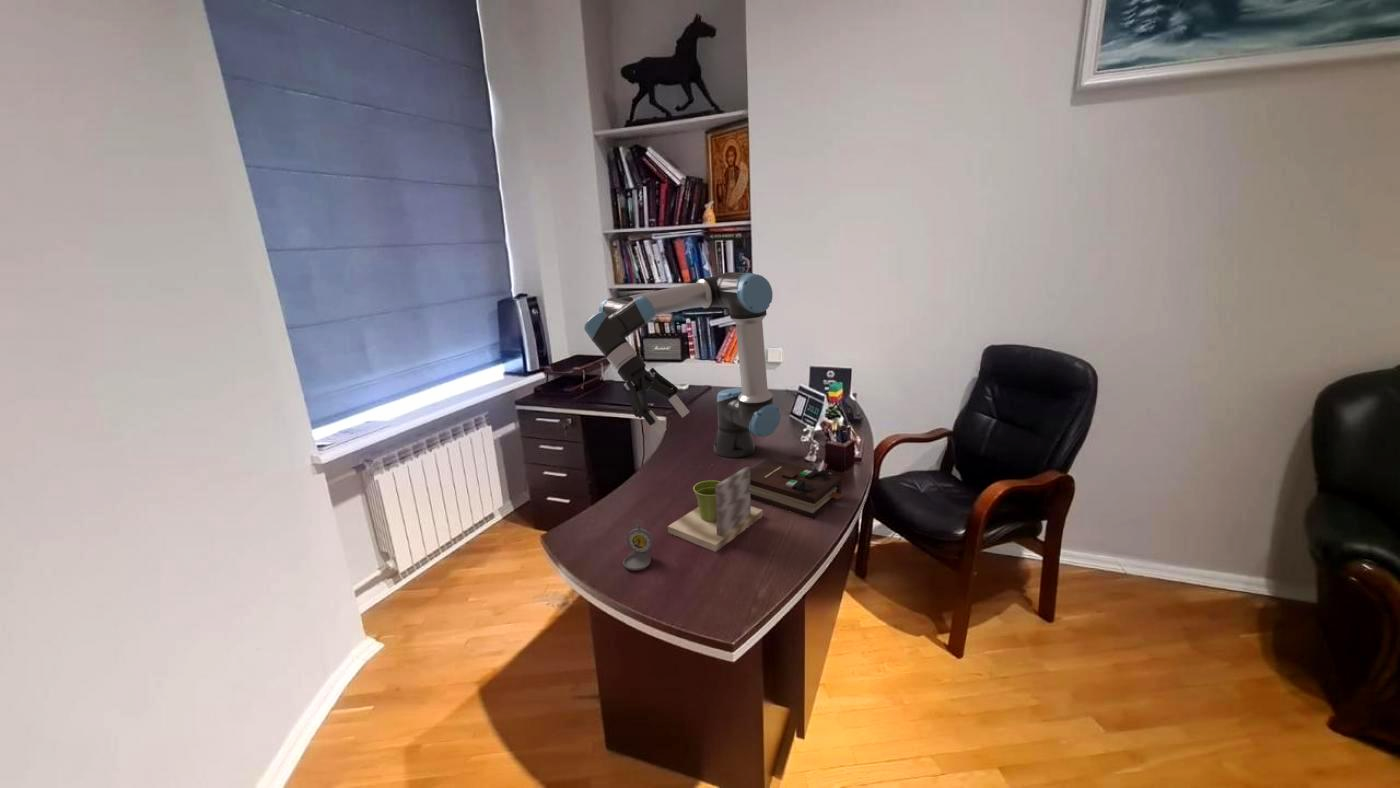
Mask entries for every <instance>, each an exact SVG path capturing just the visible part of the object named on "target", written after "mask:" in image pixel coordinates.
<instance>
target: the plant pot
mask: <svg viewBox="0 0 1400 788" xmlns="http://www.w3.org/2000/svg"><path fill="white" fill-rule="evenodd" d="M720 482H721V481H719V480H704V481H703V480H702V481H699V482H697V483H696V484H695V485H693V486H692V487H693V488H692V489H693V492H694V494H695V496H696V500H697V505H698V507H699V511H700V516H701V518H703V519H704V520H706V521H716V494H715V485H717V484H718V483H720Z"/></svg>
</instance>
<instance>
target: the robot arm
mask: <svg viewBox="0 0 1400 788" xmlns="http://www.w3.org/2000/svg"><path fill="white" fill-rule="evenodd" d="M772 301H773V289H772V286H771V284H770V281H768V279H766V278H765V277H764V276H763V275H762V274H761V275H760V274H757V273H753V272H735V271H733V272H732V271H731V272H729V271H728V272H723V273H719V274H716V275H712V276H708V277H703V278H699V279H698V280H697V281H696V282H695V283H689V284H685V285H684V284H683V285H680V286H675V287H668V288H664V289H659V290H654V291H653V290H652V291H649V292H644V293H639V294H634V295H629V296H623V297H618V298H617V297H616V298H615V297H608V298H605V299H604V300H602V301H601V302H600V304H599V307H598V313H596V314H594V315H592V316H591V317H589V319H587V320H586V321H585V323H584V326H583V327H584V332H585V333H586V335H588V337H589V338H590V340H591V342H592V343H593V344H594V345H595V346H596V347H597V348H598V349H599V351H600V352H601V353H602V354H603V356H604V357H605V358H606V360H607V361H608V362H609V363H610V365H611V366H612V367H613V369H614V370H617V374H618V375H619V376H620V378H621V379H622V380H623V381H624V382H625V383H624V384H623V385H622V389H623V390H624V392H625V393H626V396H627V399H628V401H629V404H630V407H631V410H632V411H633V415H634V417H636V418H639V419H642V418H643V419H644V420H645V421H646V422H647V424H648V425H650V426H651V428H652V429H653V430H654V432H655V433H656V434H657V435H658V436H660V435H662V434H663V433H664V432H666V430H667V428H666V426H664V424H663V423H662V421H661V420H660V419H659V418H658V417H657V415H656V414H655V412H654V411H652V409H651V410H649V405H648V404H649V403H648V399H647V398H648V397H647V392H646V391H648V390H653V391H655V392H657V393H660V394H661V395H663V396H665V397H666V398H668V402H670V404H671V405H672V406H673V407H674V409H675V410H676V412H678V414H679V416H680V417H681V418H682V419H683V418H684V417H685V416H686V415H688V414H689V413H690V410H689V409H688V408H687V406H686V405H685V404H684V403H683V401H682V400H681V398H680V397H679V396H678V395H677V394H678V392H679V390H678V389H679V388H678V387H677V386H676V385H675V384H673V383H672V382H671V381H669V380H668V379H667V378H665V377H664V376H663V375H661V374H660V373H659V372H658V371H657V370H656V369H655V368H654V367H651V368H650V369H648V370H646V365H647V364H646V362H644V360H643V359H642V358H641V356H640V355H637V353H638V352H637V351H636V349H634V347H633V346H632V345H631V344H630V343H629V341H628V340H627V339H626V338H628V337H629V336H630V335H632V334H633V333H635V332H637V331H638V330H640V329H641V328H642V327H644V326H645V325H647V324H648V323H649V322H651V321H652V320H653V319H654V318H655V317H656V316H660V315H664V314H665V315H666V314H671V313H673V312H674V313H675V312H681V311H684V310H688V309H693V308H697V307H698V308H699V307H702V308H703V309H708V308H715V307H716V308H727V309H729V317H730V320H732V321H733V322H734V324H735V329H736V341H737V351H738V353H737V354H738V362H739V364H738V365H739V375H740V384H741V387H732V388H725V389H723V390H720V391H719V392H718V393H717V396H716V404H717V405H716V406H717V407H716V408H717V411H716V412H717V433H716V436H715V440H714V442H713V452H714V453H715V454H716V455H719V456H721V457H725V458H742V457H743V458H744V457H747V456H750V455H752V454H753V453H754V452H755V451H756V443H755V441H754V438H753V436H757V437H761V438H762V437H763V438H764V437H768V436H771V434H773V433H774V432H775V431H776V429H777V428H778V427H779V426H780V423H781V419H782V411H781V410H780V408H779V407H778V406H777V405H775V404H774V398H773V397H774V396H773V393H772V392H771V391H769V389H768V378H767V376H768V375H767V365H766V362H767V361H766V353H765V340H764V339H765V337H764V326H763V323H764V322H763V320H764V319H765V318H766V316H767V314H768V313H767V310H768V309H769V307H770V304H771V303H772Z"/></svg>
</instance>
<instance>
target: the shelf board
mask: <svg viewBox="0 0 1400 788" xmlns="http://www.w3.org/2000/svg"><path fill="white" fill-rule="evenodd" d="M750 469H751V467H750V466H744V467H743V468H742V469H740V470H738V471H737V472H735V473H733V474H731V475H729V476H728V477H727V478H725V479H724V480H722V481H720V483H718V484H717V485H715V494H716V521H706V520H704V519H703V518H701V516H700V511H699V506H698V507H696V508H694V509H692V510H691V511H689V512H687V514H685V515H683V516H681V517H680V518H678V519H677V520H675V521H673V522H672V523H671V524H669V525H668V526H667V533H668V532H669V533H668V534H670V533H671V534H670V535H672V534H673V535H672V536H675V537H677V536H678V537H677V538H680V539H683V540H685V541H688V542H690V543H692V544H695V545H698V546H700V547H702V548H705V549H707V550H709V551H712V552H715V553H716V552H717V551H719V550H720V549H721V548H723V547H724V546H726V545H727V544H729V543H730V542H731V541H732V540H734V539H735V538H736V537H738V536H739V535H740V534H741V533H743V532H744V531H745V530H747V529H748V528H750V525H751V526H752V525H753V524H755V523H756V522H757V521H758V519H759V520H760V519H761V518H763V517H764V515H763V514H764V512H763V510H764V509H761V508H758V507H754V506H752V505H751V500H752V499H751V498H750ZM762 516H763V517H762ZM754 522H755V523H754ZM746 528H747V529H746ZM737 535H738V536H737Z"/></svg>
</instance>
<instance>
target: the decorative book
mask: <svg viewBox="0 0 1400 788" xmlns="http://www.w3.org/2000/svg"><path fill="white" fill-rule="evenodd" d="M835 472H836V471H835V470H832V469H830V470H828V471H827V470H824V469H822V470H816V469H811V468H808V467H803V466H800V465H797V464H794V463H789V462H786V461H781V460H778V459H774V458H770V457H768V458H767V459H765V460H763V461H762V462H760V463H759V464H757V465H755V466H754V467H752V468H750V498H751V500H752V501H755V500H756V501H755V502H758V501H759V503H761V502H762V503H761V504H765V505H768V506H771V505H772V506H771V507H774V506H775V507H774V508H778V509H780V508H781V509H780V510H783V509H784V510H783V511H786V510H787V511H786V512H789V511H791V512H790V513H793V512H794V513H793V514H796V515H800V516H802V517H805V516H806V518H808V517H809V518H808V519H811V518H812V520H815V519H817V518H818V517H819V516H820V515H821V514H822V513H824V512H825V511H826V510H827V509H828V508H830V506H831V504H832V503H833V502H834V503H835V502H837V500H839V499H840V498H842V497H843V496H844V494H842V476H839V475H835V474H834V473H835ZM834 503H833V504H834ZM833 504H832V505H833ZM827 507H828V508H827ZM826 508H827V509H826ZM825 509H826V510H825ZM824 510H825V511H824ZM818 515H819V516H818ZM817 516H818V517H817Z"/></svg>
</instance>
